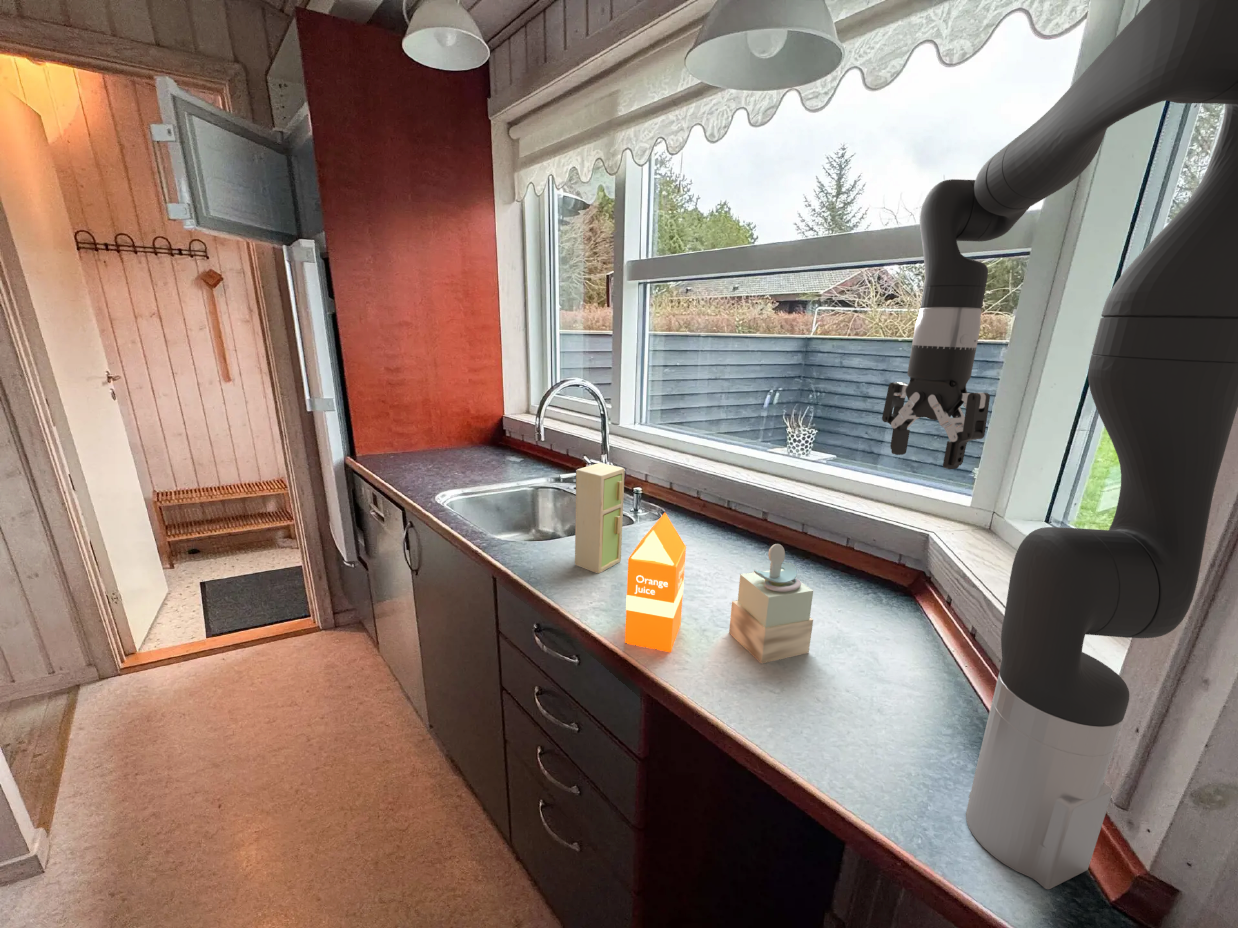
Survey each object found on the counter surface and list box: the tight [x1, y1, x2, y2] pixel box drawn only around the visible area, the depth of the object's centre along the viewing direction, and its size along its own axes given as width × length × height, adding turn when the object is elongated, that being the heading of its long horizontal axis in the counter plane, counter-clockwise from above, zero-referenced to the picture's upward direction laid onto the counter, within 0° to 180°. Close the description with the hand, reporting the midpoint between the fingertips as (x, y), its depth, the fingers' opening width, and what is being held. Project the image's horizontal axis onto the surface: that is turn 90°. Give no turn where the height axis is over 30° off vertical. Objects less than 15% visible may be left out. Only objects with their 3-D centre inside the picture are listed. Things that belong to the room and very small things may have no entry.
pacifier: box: [753, 543, 801, 592], centre depth 84 cm, size 7×6×6 cm
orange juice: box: [624, 512, 687, 653], centre depth 87 cm, size 8×9×20 cm
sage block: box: [737, 569, 814, 627], centre depth 86 cm, size 8×8×5 cm
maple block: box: [728, 599, 814, 665], centre depth 87 cm, size 9×9×6 cm
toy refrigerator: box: [574, 462, 625, 574], centre depth 112 cm, size 8×7×21 cm
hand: (922, 460), depth 77 cm, fingers open, 8 cm apart
